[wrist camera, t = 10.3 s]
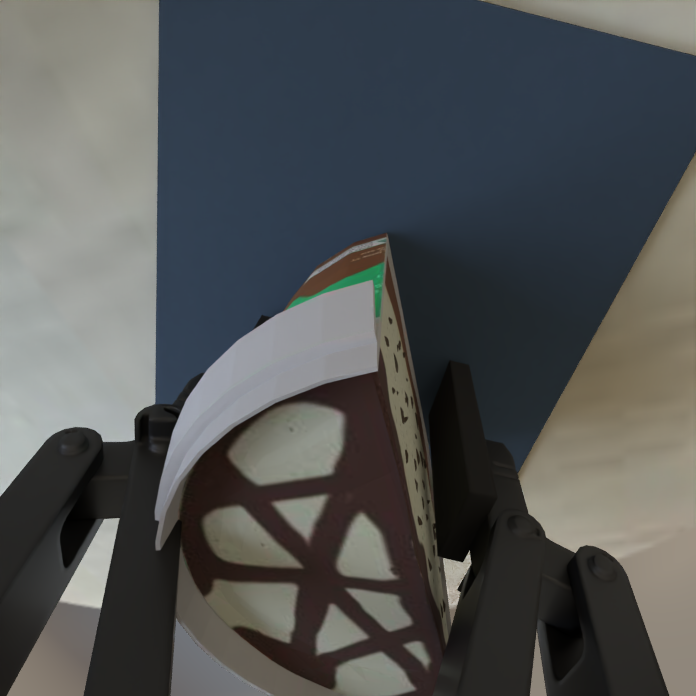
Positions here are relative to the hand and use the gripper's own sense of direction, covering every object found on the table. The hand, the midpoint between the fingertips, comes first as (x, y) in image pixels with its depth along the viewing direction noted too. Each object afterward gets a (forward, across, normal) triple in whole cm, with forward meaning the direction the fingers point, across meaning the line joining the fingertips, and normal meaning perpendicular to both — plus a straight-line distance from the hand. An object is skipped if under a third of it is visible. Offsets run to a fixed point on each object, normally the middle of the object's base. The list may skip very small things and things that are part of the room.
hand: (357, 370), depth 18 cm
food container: (0, -1, 0) cm, 1 cm away
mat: (+1, 0, +2) cm, 2 cm away
